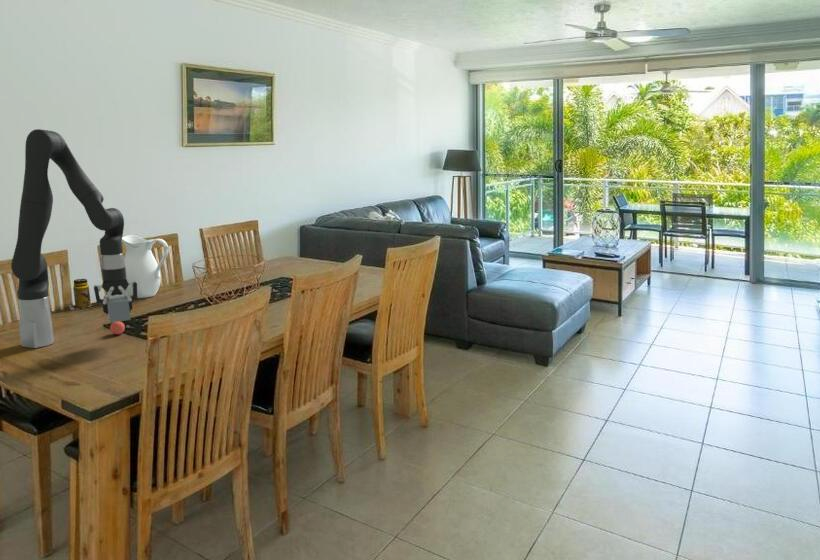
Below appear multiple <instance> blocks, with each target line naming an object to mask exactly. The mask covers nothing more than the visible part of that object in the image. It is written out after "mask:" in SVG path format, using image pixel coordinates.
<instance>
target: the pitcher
mask: <svg viewBox="0 0 820 560" xmlns="http://www.w3.org/2000/svg"><path fill="white" fill-rule="evenodd" d="M122 243H123V244H124V245H125V248H126V249H125V256H124V259H125V268H126V278H127V281H128V282H134V281H135V282H136V283H137V299H146V298H151V297H154V296H155V295H156V294H157V292H158V291H159V289H160V285H161V281H162V277H161V276H162V275H161V270H160V269H161V267H162V265H163V264H164V262H165V261H166V259H167V257H168V255H169V250H170V249H169V245H168V243H167V242H166V240H164V239H163V238H154V239H153V238H152V239H145V238H143V237H140V236H138V235H137V234H128V235H125V236H123V237H122ZM155 243H160V244H161V245H162V246H163V250H164V251H163V256H162V258H161V259H160V261H159V262H157V260H156V258H155V255H154V254H153V252H152V248H153V245H154V244H155ZM126 292H127V293H128V294H129V295H130V296H132V295H133V288H131V287H130V285H128V287H127V289H126Z"/></svg>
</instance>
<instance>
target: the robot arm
mask: <svg viewBox="0 0 820 560" xmlns="http://www.w3.org/2000/svg"><path fill="white" fill-rule="evenodd" d="M24 150H25V151H24V152H25V158H24V159H25V161H24V163H25V165H24V175H23V176H24V177H23V186H22V193H21V198H20V206H19V215H18V226H17V228H18V229H17V230H18V231H17V239H16V244H15V249H14V252H13V256H12V259H11V264H10V268H11V272H12V274H13V275H14V276H15V277H16V278H17V279H18V289H17V292H16V293H17V302H18V308H19V316H20V318H19V320H18V329H19V335H20V338H19V339H20V344H21V347H24V348H30V349H37V348H42V347H46V346H49V345H52V344H54V342H55V337H54V329H53V323H52V313H51V305H50V297H49V296H50V295H49V289H50V288H49V286H50V282H49V280H50V279H49V272H48V271H49V270H48V264H47V263H48V262H47V260H46V257H45V256H44V255H43V254H42V253H41V252H42V245H43V239H44V236H45V234H46V231H47V230H48V226H49V224H50V221H51V217H52V213H53V212H52V211H53V204H54V196H53V191H52V187H51V184H50V181H49V175H48V171H49V163H50V160H51V161H53V162H54V164H55V165H56V166H58V168H59V169H60V170H61V171H62V173H63V175H64V178H65V180H66V183H67V185H68V187H69V189H70V191H71V192H72V194H73V195H74V196H75V197H76V199H77V200H78V201H79V202H80V203H81V205H82V206H83V207H84V210H85V212H86V214H87V217H88V218H89V221H90V222H91V224H92V225H93V227H95V228H97V229H98V230H100V231H104V235H103V236H102V237H101V238H100V239H99V250H100V268H101V273H102V274H101V277H102V284H100V285H97V284H95V285H93V291H94V296H95V300H96V303H97V304H101V305H102V310H103V311H102V312H103V313H104V314H105V315H108V307H107V300H108V299H109V297H110V295H112V296H114V295H122V294H123V295H124V296H125V297H126V298H128V300H129V309H130V313H131V311H132V310H133V300H136V299H138V298H137V283H136V282H135V281H134V282H128V281H127V278H126V268H125V259H124V258H125V256H124V249H123V241H122V237H124V236H123V235H124V229H125V228H124V226H125V219H124V216H123V213H122V212H121V210H119V209H118V208H114V207H109V208H105V207H104V206H103V203H104V199H105V198H104V196H103V194H102V193H101V192H100V190H99V189H98V188H97V186H96V185H95V184H94V183H93V182H92V181H91V179H90V178H89V176H88V175H87V174H86V173H85V171H84V170H83V168H82V167H81V165H80V164H79V162H78V160H77V159H76V158H75V156H74V154H73V152H72V151H71V148H70V147H69V146H68V144H67V142H66V140H65V138H64V137H63V136H62V135H61V134H60V133H58V132H57V131H54V130H48V129H47V130H46V129H41V128H39V129H33V130H31V131H30V132H29V133H28V134H27V136H26V140H25V149H24ZM128 285H130V287H131V288H133V295H132V296H130V295H129V294H128V293H127V292H126V289H127V287H128ZM102 289H103V290H104V291H105V295H104V296H103V298H100V297H101V295H100V292H101V291H102Z"/></svg>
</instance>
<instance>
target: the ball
mask: <svg viewBox="0 0 820 560" xmlns="http://www.w3.org/2000/svg"><path fill="white" fill-rule="evenodd" d="M125 327H126V326H125V323H123V321H118V322H111V324H110V327H109V329H110V332H111V334H112V335H113V334H114V335H121V334H122V333H124V331H125V329H126V328H125Z"/></svg>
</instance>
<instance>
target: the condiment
mask: <svg viewBox="0 0 820 560" xmlns="http://www.w3.org/2000/svg"><path fill="white" fill-rule="evenodd" d="M72 289H73V297H74V304H71V305H68V307H69V309H70V310H72V311H73V310H80V308H82V309H86V308H85V307H89V306H93V305H92V303H91V296H90V295H91V294H90V285H88V279H86V278H78V279H77V278H76V279H74V280H73V288H72ZM72 307H73V308H72ZM75 308H76V309H75Z"/></svg>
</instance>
